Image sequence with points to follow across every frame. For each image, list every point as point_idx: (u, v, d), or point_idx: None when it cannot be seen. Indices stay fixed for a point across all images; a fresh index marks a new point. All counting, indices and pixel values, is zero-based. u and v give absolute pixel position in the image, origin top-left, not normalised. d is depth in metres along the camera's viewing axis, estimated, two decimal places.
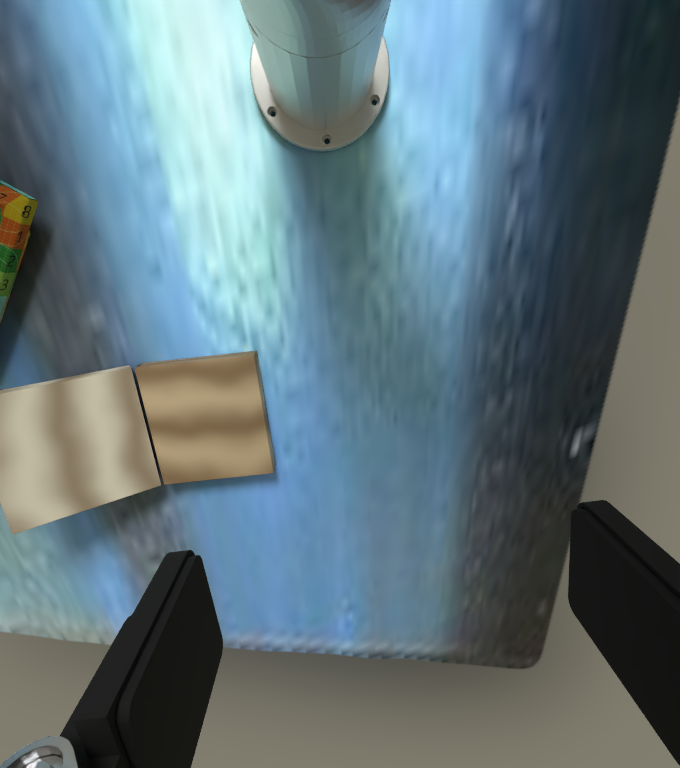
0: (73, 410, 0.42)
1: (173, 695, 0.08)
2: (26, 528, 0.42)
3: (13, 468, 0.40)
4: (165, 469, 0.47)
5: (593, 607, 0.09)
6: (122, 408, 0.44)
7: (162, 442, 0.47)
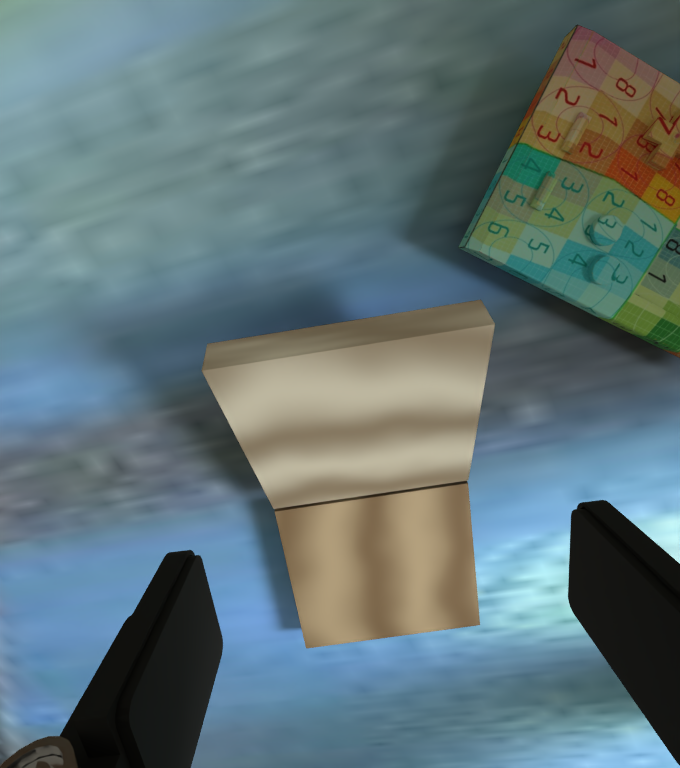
0: (426, 436, 0.25)
1: (173, 695, 0.08)
2: (210, 384, 0.21)
3: (343, 376, 0.21)
4: (301, 515, 0.30)
5: (593, 607, 0.09)
6: (410, 475, 0.28)
7: (347, 512, 0.30)
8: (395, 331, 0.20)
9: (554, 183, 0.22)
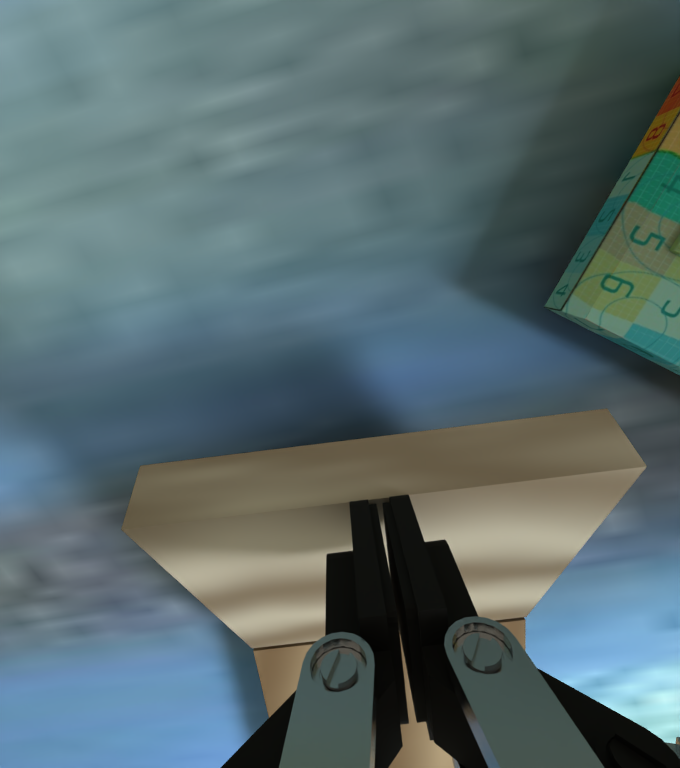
0: (483, 583, 0.17)
1: None
2: (141, 541, 0.12)
3: None
4: (291, 655, 0.22)
5: (393, 589, 0.11)
6: None
7: None
8: (466, 467, 0.11)
9: None
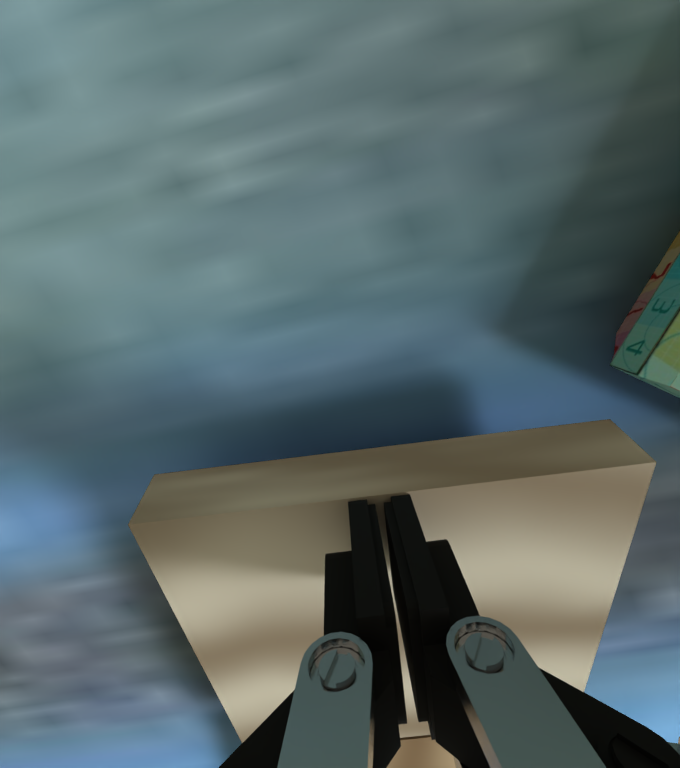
0: None
1: None
2: (145, 548, 0.12)
3: None
4: None
5: (395, 588, 0.11)
6: None
7: None
8: (472, 467, 0.11)
9: None
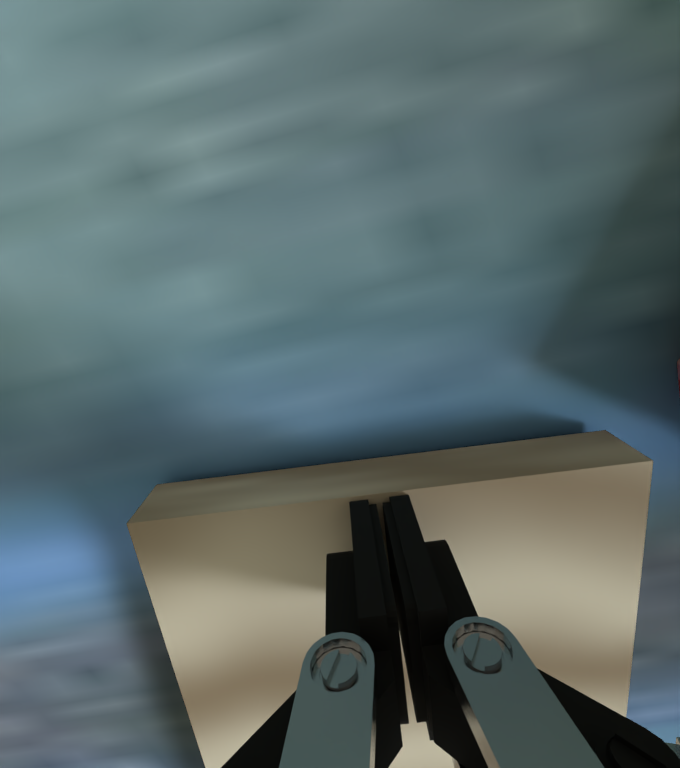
0: None
1: None
2: (140, 555, 0.12)
3: None
4: None
5: (393, 589, 0.11)
6: None
7: None
8: (471, 470, 0.12)
9: None
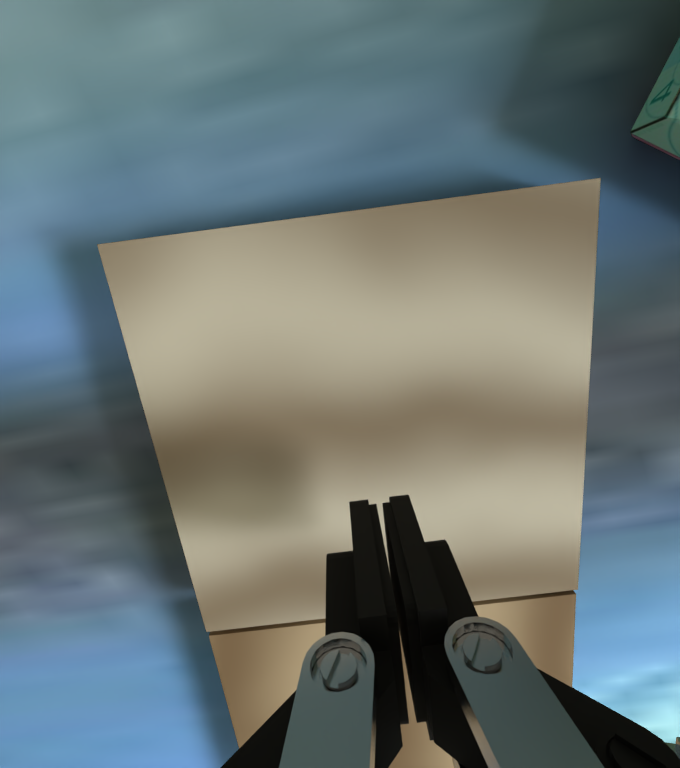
0: (492, 454, 0.14)
1: None
2: (112, 286, 0.12)
3: (341, 281, 0.12)
4: (260, 642, 0.16)
5: (393, 589, 0.11)
6: (467, 563, 0.15)
7: None
8: None
9: None
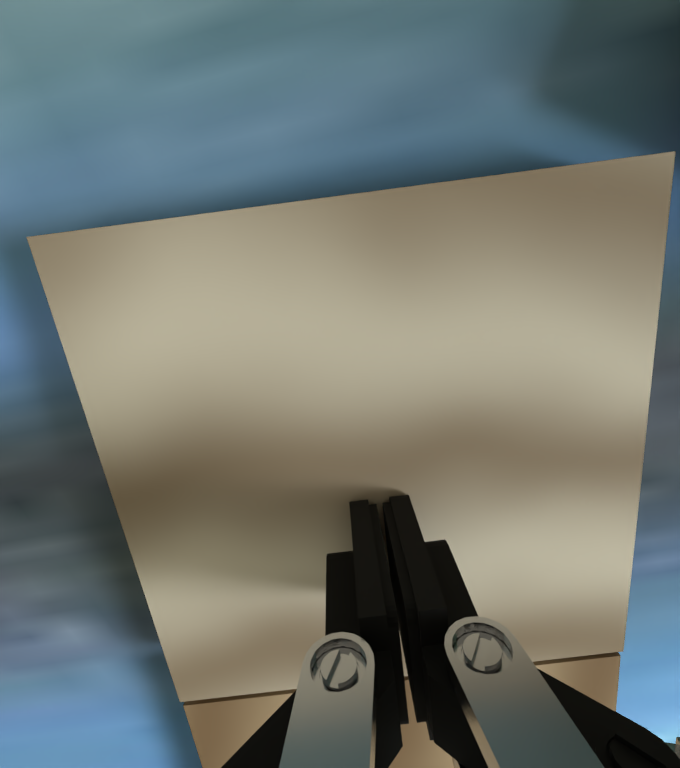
0: (526, 495, 0.11)
1: None
2: (49, 290, 0.10)
3: (341, 284, 0.09)
4: (244, 712, 0.14)
5: (393, 589, 0.11)
6: None
7: None
8: None
9: None
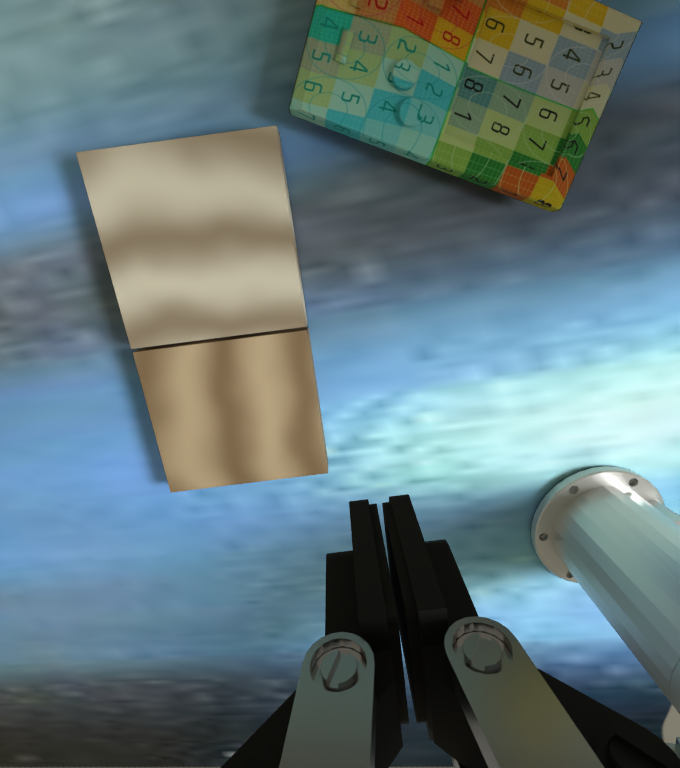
0: (253, 252, 0.31)
1: None
2: (82, 171, 0.29)
3: (177, 169, 0.29)
4: (157, 356, 0.33)
5: (393, 589, 0.11)
6: (251, 310, 0.32)
7: (199, 355, 0.33)
8: None
9: (350, 36, 0.26)
